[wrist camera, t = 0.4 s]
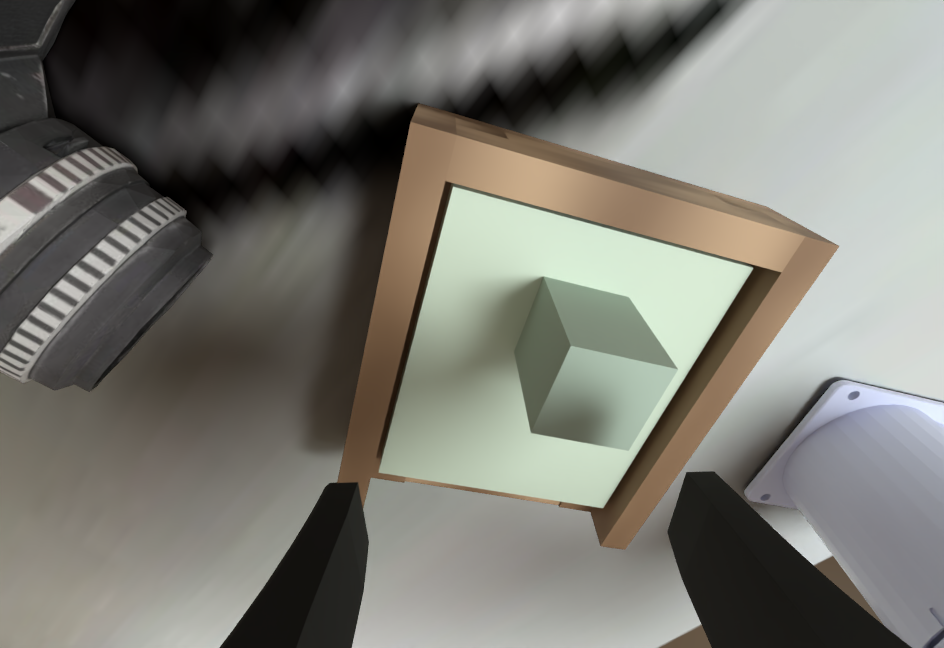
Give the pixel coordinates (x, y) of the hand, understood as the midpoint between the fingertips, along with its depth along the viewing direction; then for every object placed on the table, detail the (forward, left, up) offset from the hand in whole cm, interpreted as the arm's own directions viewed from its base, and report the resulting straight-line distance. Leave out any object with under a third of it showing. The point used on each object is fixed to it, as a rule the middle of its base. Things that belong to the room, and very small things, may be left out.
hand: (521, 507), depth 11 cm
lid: (-2, +1, -8) cm, 8 cm away
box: (-2, +1, -10) cm, 10 cm away
